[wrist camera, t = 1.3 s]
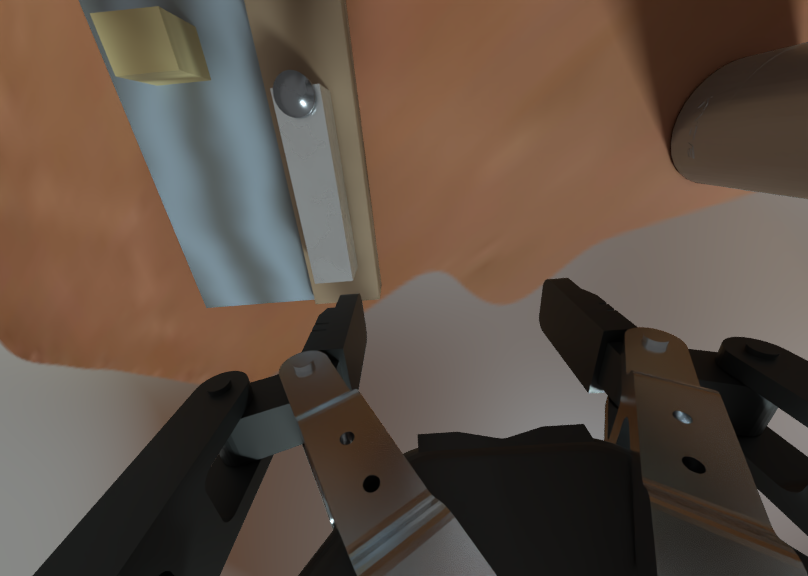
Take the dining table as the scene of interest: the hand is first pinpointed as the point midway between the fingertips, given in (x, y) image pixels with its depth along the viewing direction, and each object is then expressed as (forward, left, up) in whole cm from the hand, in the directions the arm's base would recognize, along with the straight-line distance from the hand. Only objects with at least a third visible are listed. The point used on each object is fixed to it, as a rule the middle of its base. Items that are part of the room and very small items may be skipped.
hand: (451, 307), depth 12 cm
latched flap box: (+13, -5, -18) cm, 23 cm away
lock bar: (+8, -3, -14) cm, 17 cm away
